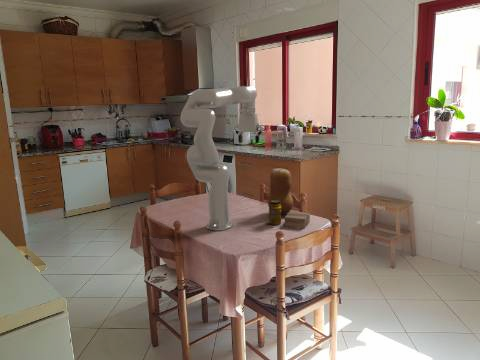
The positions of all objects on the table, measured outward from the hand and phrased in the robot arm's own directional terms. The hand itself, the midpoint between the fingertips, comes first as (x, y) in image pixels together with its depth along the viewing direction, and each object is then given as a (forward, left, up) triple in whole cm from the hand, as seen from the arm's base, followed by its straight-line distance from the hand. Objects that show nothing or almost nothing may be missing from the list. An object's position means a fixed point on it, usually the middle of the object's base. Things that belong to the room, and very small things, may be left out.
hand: (248, 142), depth 206 cm
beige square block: (-14, -32, -39) cm, 52 cm away
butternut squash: (-1, -18, -38) cm, 42 cm away
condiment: (-18, -21, -38) cm, 47 cm away
